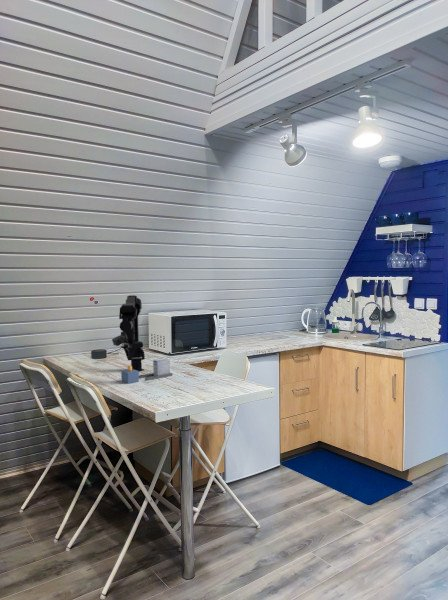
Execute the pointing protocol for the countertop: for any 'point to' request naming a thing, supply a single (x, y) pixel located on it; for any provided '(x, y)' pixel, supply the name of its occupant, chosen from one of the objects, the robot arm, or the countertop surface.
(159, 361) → the medicine box
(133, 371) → the blue hollow block
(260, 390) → the countertop surface
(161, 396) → the countertop surface
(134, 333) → the robot arm
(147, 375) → the rails
